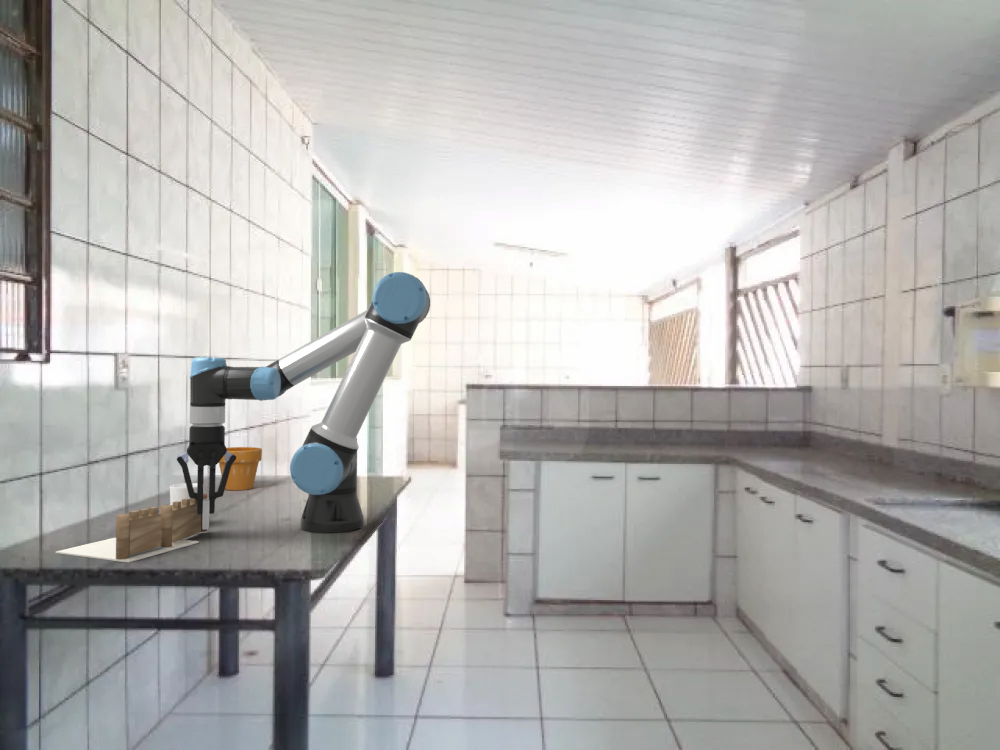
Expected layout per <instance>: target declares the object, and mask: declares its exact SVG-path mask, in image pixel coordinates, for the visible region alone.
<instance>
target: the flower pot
mask: <svg viewBox="0 0 1000 750" xmlns="http://www.w3.org/2000/svg"><path fill="white" fill-rule="evenodd" d="M226 448H227V451H228V452H229V453H231V454H234V455H235V456H236V460H235V461H234V463H233V464H232V465H231V469H230V473H229V476H228V480H227V483H226V487H225V490H226V491H247V490H251V489H253V488H254V486H255V485H254V484H255V480H256V477H257V472H258V467H259V462H261V461H262V458H263V457H262V455H263V454H262V453H263V449H262V448H261V447H251V446H238V447H237V446H236V447H235V446H231V447H230V446H229V447H226ZM225 463H226V461H225V455H224V456H223V457H222V459H221V460H220V461H219V463H218V465H219V469H220V474H221V476H222V474H223V470H224V467H225Z"/></svg>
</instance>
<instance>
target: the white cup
mask: <svg viewBox="0 0 1000 750" xmlns="http://www.w3.org/2000/svg"><path fill="white" fill-rule="evenodd" d="M192 486H193V489H194V492H195V493H197V482H192ZM203 494H205V484H204V483H203ZM182 499H190V497H189V494H188V490H187V486H186V482H183V483H176V484H175V483H174V484H171V485H169V505H172V509H173V502H175V501H181V506H182Z"/></svg>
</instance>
